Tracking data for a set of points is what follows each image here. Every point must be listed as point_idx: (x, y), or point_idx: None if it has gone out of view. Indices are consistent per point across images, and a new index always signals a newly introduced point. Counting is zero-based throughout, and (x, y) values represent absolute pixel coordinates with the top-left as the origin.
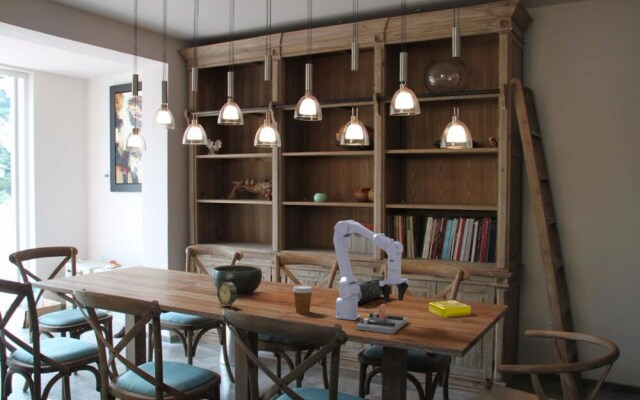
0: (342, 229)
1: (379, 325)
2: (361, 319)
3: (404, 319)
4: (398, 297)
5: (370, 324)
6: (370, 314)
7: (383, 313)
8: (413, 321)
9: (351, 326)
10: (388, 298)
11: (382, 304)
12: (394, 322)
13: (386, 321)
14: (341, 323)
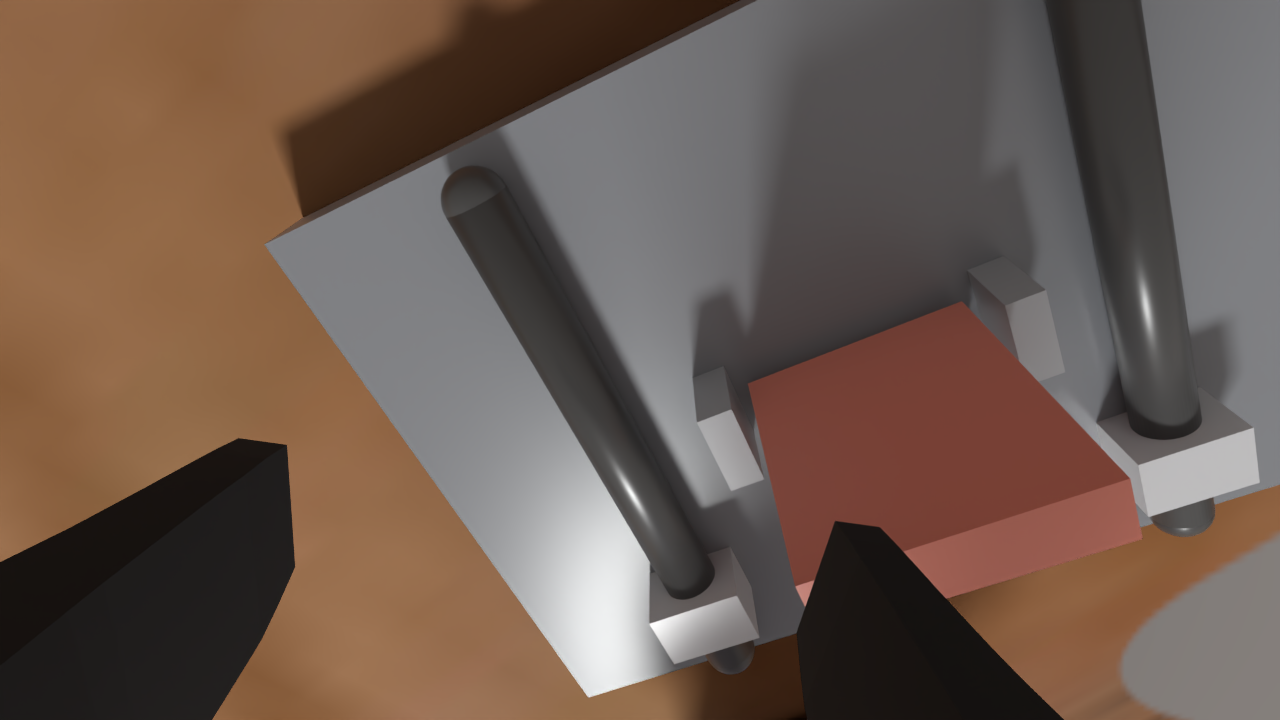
0: None
1: (1176, 176)
2: (1202, 528)
3: (414, 181)
4: (260, 629)
5: (1198, 332)
6: (752, 655)
7: (890, 409)
8: (161, 185)
9: (1148, 558)
10: (940, 606)
11: None
12: (763, 145)
13: (809, 298)
14: (1080, 704)
